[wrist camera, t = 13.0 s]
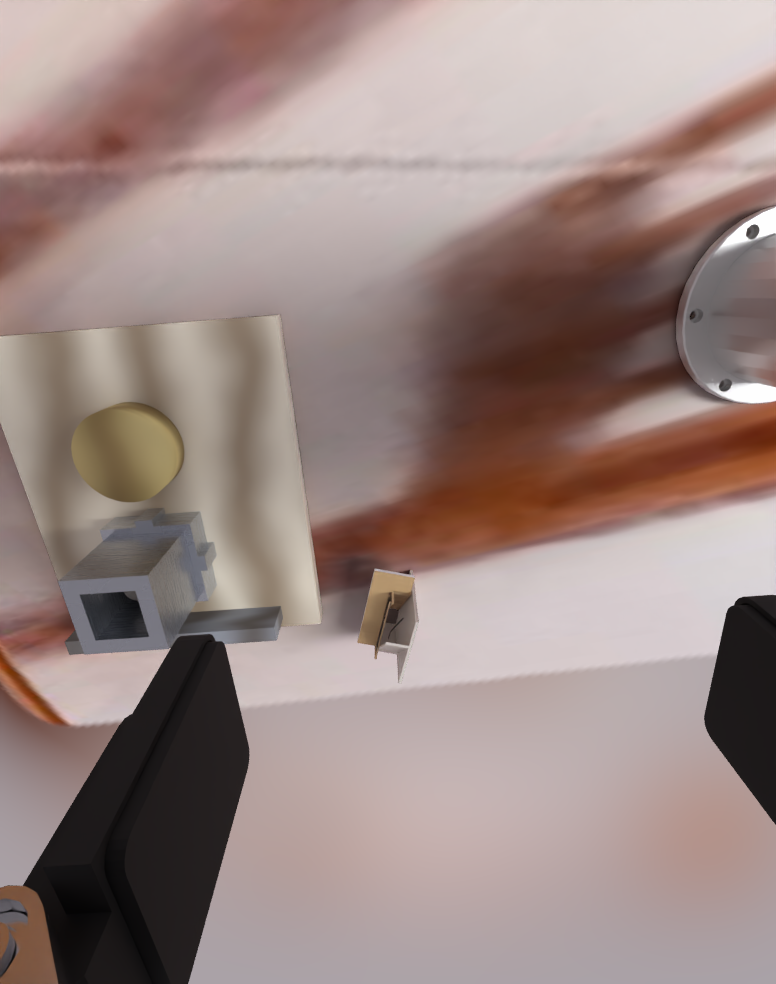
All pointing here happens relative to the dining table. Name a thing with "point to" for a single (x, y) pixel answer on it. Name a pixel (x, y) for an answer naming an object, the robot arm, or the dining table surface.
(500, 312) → the dining table surface
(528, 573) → the dining table surface
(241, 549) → the board
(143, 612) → the keystone jack insert
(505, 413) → the dining table surface
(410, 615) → the architectural model
